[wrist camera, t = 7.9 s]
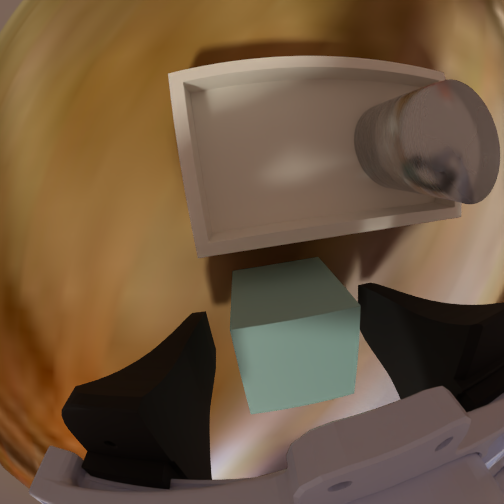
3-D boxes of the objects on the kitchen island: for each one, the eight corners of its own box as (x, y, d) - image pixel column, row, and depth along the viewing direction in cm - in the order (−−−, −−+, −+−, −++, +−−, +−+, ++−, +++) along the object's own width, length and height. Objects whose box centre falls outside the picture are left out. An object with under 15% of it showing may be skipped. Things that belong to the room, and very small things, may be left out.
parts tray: (419, 81, 10) (443, 72, 8) (434, 209, 12) (461, 216, 10) (180, 89, 10) (168, 73, 8) (204, 243, 12) (198, 258, 10)
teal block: (317, 256, 13) (360, 305, 8) (321, 328, 14) (353, 393, 9) (232, 270, 13) (230, 329, 8) (246, 341, 14) (250, 414, 9)
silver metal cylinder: (417, 106, 10) (489, 90, 5) (428, 185, 11) (502, 199, 6) (346, 103, 10) (410, 70, 5) (360, 192, 11) (430, 210, 6)
